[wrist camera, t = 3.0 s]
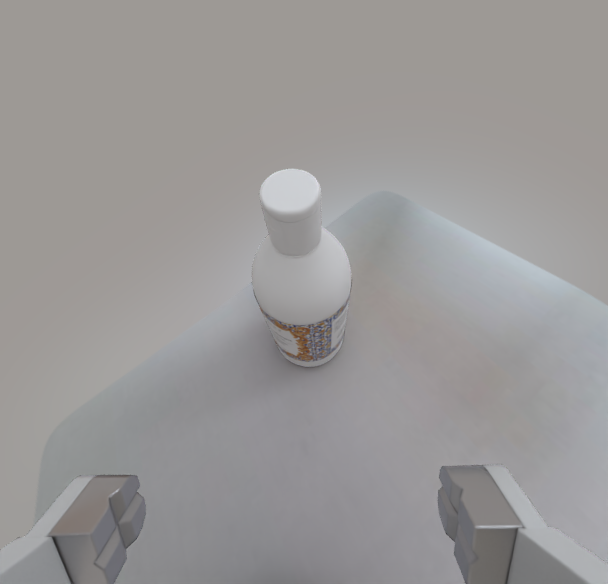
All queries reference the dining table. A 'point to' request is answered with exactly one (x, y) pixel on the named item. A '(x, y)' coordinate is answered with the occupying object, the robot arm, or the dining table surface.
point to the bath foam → (300, 271)
